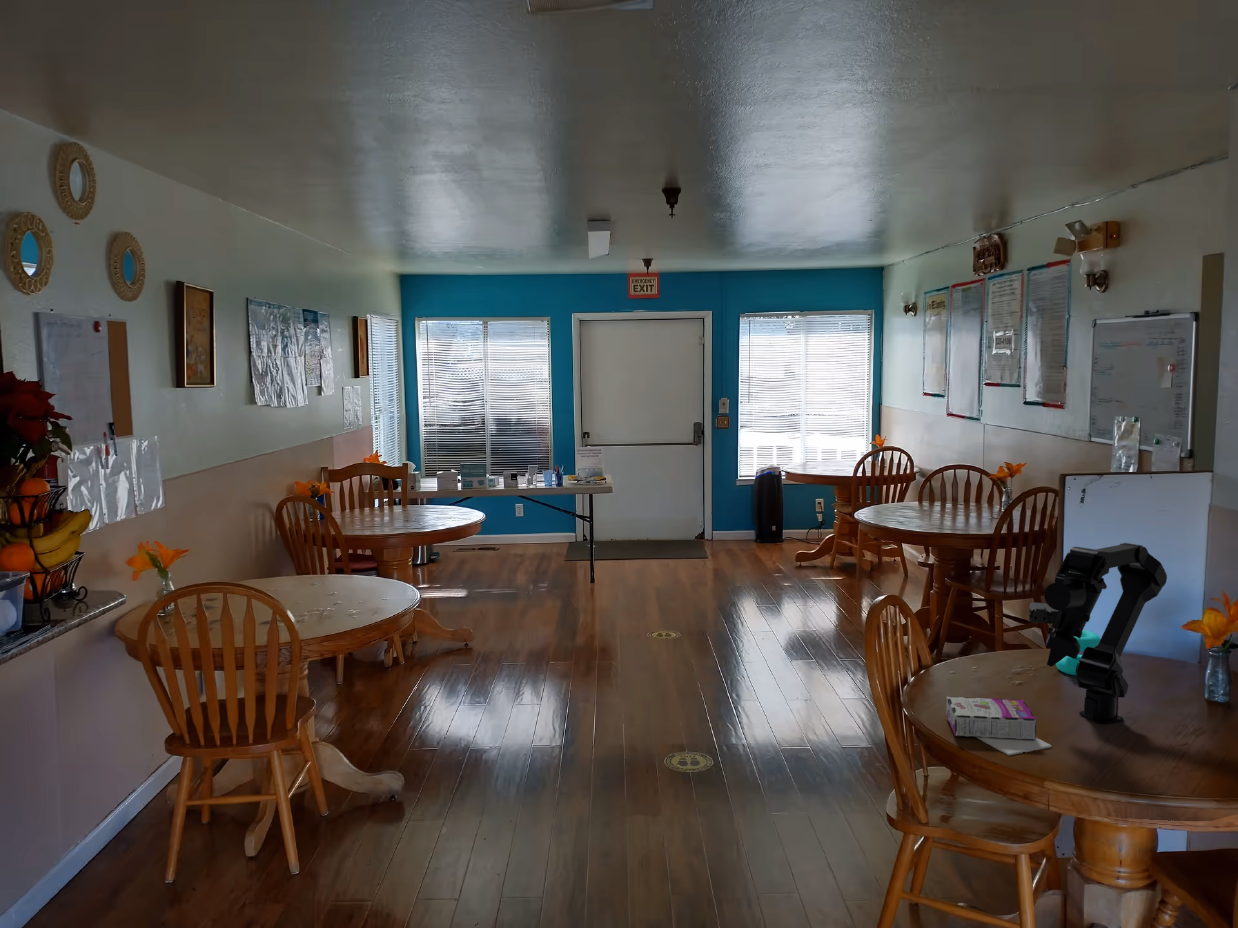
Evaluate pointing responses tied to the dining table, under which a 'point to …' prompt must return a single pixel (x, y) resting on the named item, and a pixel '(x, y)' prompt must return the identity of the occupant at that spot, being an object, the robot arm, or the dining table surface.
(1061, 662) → the donuts
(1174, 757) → the dining table surface
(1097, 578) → the robot arm
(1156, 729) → the dining table surface
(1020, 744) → the mat
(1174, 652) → the dining table surface
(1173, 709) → the dining table surface
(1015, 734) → the candy bar box
